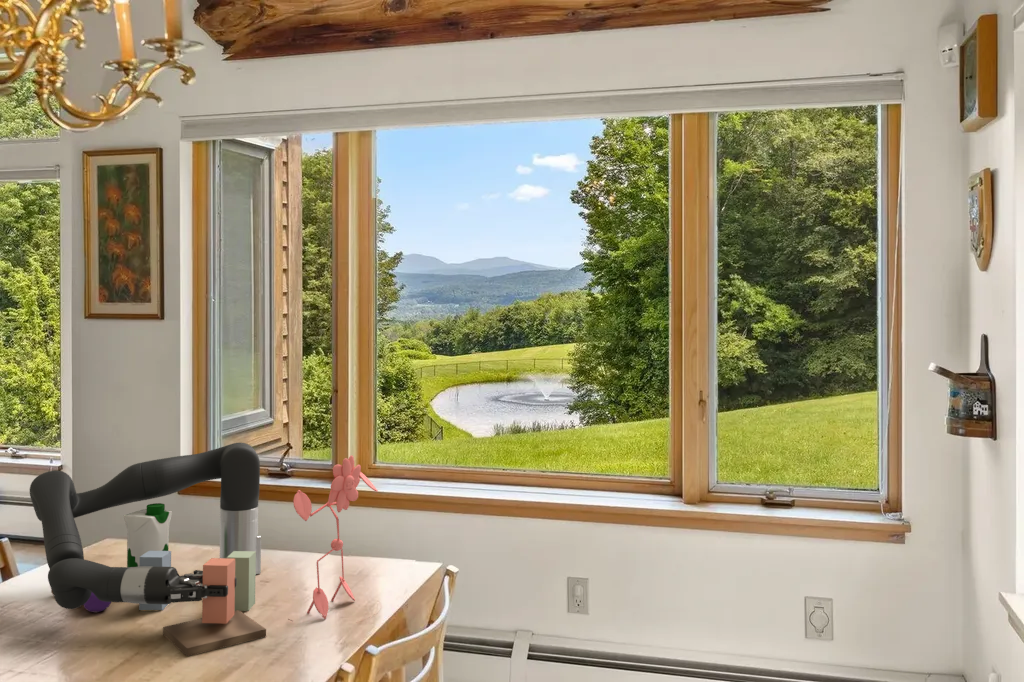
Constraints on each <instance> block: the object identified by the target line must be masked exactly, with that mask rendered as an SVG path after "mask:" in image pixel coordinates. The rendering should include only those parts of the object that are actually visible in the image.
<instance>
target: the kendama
mask: <svg viewBox="0 0 1024 682" xmlns="http://www.w3.org/2000/svg"><path fill="white" fill-rule="evenodd" d="M51 594H52V595H53V592H52V590H51ZM111 604H112V602H104V601H100V600H99V599H98V598H97V597H96V596H95V595H94V593H93V592H92V593H91V596H90V598H89V599H88V601H87V602H86V603H85V604H84V605H83V607H84V609H85V610H87V611H88V612H91V613H99V612H103V611H105V610H106V609H107V608H109V607H110V605H111Z"/></svg>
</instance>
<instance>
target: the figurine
mask: <svg viewBox="0 0 1024 682" xmlns="http://www.w3.org/2000/svg"><path fill="white" fill-rule="evenodd" d="M332 475H333V480H332V482H331V484H330V491H329V495H328V501H327V502H326V503H325V504H323V505H322V506H320V507H319V508H318V509H316V510H314V511H313V512H312V507H313V506H312V501H311V499H310V498H309V497H308V495H307V494H306V493H305V492H303V491H301V490H300V489H298V490H297V491H296V493H295V494H294V497H293V501H292V503H293V508H294V510H295V512H296V514H297V515H298V516H299V517H300V518H301V519H302V520H303V521H305V522H307V521H308V520H309V518H310V517H312V516H314V515H316V514H317V513H318V512H320V511H322V510H323V509H324V508H326V507H328V508H329V509H330V511H331V513H332V515H333V516H334V518H335V519H336V520H335V521H336V523H335V524H336V532H337V533H336V534H337V538H334V539H333V540H332V541H331V543H330V548H331V550H329V551H328V552H326V553H325V554H324V555H323V556H321V557H320V558H318V559H317V560H316V575H317V576H316V578H317V587H315V589H313V593H312V602H311V604H310V605H309V607H308V609H307V612H306V613H307V614H310V612H311V611H312V609H313V607H314V606H315V609H316V611H317V612H318V613H319V615H320V616H321V617H322V618H323V620H326V619H327V617H328V613H329V609H330V608H329V601H328V597H327V595H326V592H325V591H324V590H323V589H322V588H320V586H321V585H320V573H319V572H320V571H319V562H320V561H321V560H323V559H324V558H325V557H326V556H328V555H330V554H331V553H332V552H334V551H335V552H338V551H341V552H340V553H341V554H340V557H341V574H342V575H339V577H338V578H339V583H338V586H337V587H336V590H335V592H334V594H333V595H332V597H331V601H332V602H334V600H335V598H336V596H337V594H338V592H339V591H340V588H341V586H342V588H343V589H344V591H345V593H346V594H347V595H348V597H349V598H350V599H352V601H353V602H355V601H356V599H355V597H354V594H353V592H352V590H351V588H350V586H349V584H348V583H347V582H346V580H345V571H344V570H345V569H344V551H343V547H344V542H343V540H341V539H340V521H339V516H338V515H337V513H341V512H342V511H343V510H344V511H348V508H349V507H350V502H355V501H357V500H358V499H359V491H358V490H357V488H358V486H359V484H360V481H363V483H364V484H365V485H366V486H368V487H369V489H371V490H372V491H374V492H377V493H378V489H377V488H376V486H375V484H373V482H372V481H371V480H370V479H369V478H368V477H367V476H366V474H364V473H363V472H362V466H361V464H356V465H355V456H353V455H351V454H350V456H349V457H348V458H347V457H345V458H344V459H343V460H342V464H338V463H337V464H334V466H333V467H332ZM333 505H336V512H337V513H336V512H335V510H334V508H333V507H332V506H333ZM287 620H288V621H291V622H293V620H292V619H289V618H287Z"/></svg>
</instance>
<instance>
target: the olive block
mask: <svg viewBox="0 0 1024 682" xmlns="http://www.w3.org/2000/svg"><path fill="white" fill-rule="evenodd" d="M227 558H229V559H235V577H236V578H237V586H236V587H235V610H234V611H237V610H239V611H241V612H249V611H250V610H251V609H252V608H253V607H254V606H255V604H256V575H257V574H256V551H233V552H232V553H231V554H230V555H229V556H228V557H227Z"/></svg>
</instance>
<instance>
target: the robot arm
mask: <svg viewBox="0 0 1024 682" xmlns="http://www.w3.org/2000/svg"><path fill="white" fill-rule="evenodd" d="M260 462H261V461H260V458H259V455H258V453H257V451H256V450H255V449H254V447H253V446H251V445H250V444H248V443H245V442H234V443H230V444H227V445H225V446H221V447H218V448H214V449H211V450H207V451H204V452H199V453H194V454H186V455H178V456H169V457H165V458H158V459H152V460H147V461H141V462H138V463H134V464H132V465H129V466H128V467H126V468H125V469H124V470H122V471H120V472H119V473H118V474H116V476H114V477H113V478H112V479H111V480H109V481H108V482H106V483H105V484H103V485H101V486H99V487H97V488H94V489H91V490H87V491H83V492H78V493H77V490H76V488H75V484H74V481H73V479H72V478H71V476H70V474H68V473H66V472H64V471H62V470H50V471H49V470H48V471H46V472H43V473H41V474H39V475H38V476H36V477H35V478H34V479H33V480H32V481H31V483H30V486H29V497H30V501H31V504H32V507H33V510H34V513H35V515H36V517H37V519H38V520H39V521H40V522H41V525H42V533H43V544H44V551H45V558H46V563H47V566H48V568H49V570H48V573H47V581H48V584H49V587H50V589H51V590H52V592H53V594H52V595H53V599H54V600H55V602H56V603H57V605H58V606H60V608H63V609H66V610H74V609H78V608H81V607H82V606H84V604H85V603H86V602H87V601H88V599H89V598H90V596H91V593H92V592H93V593H94V595H95V596H96V597H97V598H98V599H99V600H100V601H104V602H111V603H130V604H136V605H139V604H169V605H170V604H171V603H173V604H175V603H186V602H200V601H202V598H208V596H209V597H226V596H227V595H228V586H226V585H209V587H208V585H206V584H203V570H200V569H197V570H196V569H195V570H193V572H192V573H185V574H184V575H180V574H179V571H178V570H177V568H176V567H174V566H171V567H154V566H139V567H127V566H125V567H124V566H109V565H106V564H103V563H100V562H99V563H98V562H96V561H91V560H88V559H85V558H84V557H85V556H84V555H85V554H84V548H83V543H82V539H81V536H80V532H79V530H78V527H77V523H76V520H75V519H76V518H79V517H82V516H86V515H89V514H92V513H93V514H94V513H96V512H98V511H102V510H106V509H110V508H114V507H119V506H124V505H127V504H133V503H135V502H142V501H147V500H152V499H157V498H161V497H162V498H163V497H165V496H169V495H172V494H175V493H177V492H180V491H183V490H186V489H187V488H189V487H192V486H195V485H196V484H200V483H203V482H209V481H212V480H219V479H220V499H219V500H220V501H219V508H220V509H219V558H227V557H228V556H229V555H230V554H231V553H232V552H233V551H256V575H257V574H261V569H262V568H261V566H262V537H261V535H259V500H260V499H259V498H260V477H261V476H260V475H261V466H260V465H261V463H260ZM236 586H237V578H236V577H235V587H236ZM52 592H51V593H52Z"/></svg>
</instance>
